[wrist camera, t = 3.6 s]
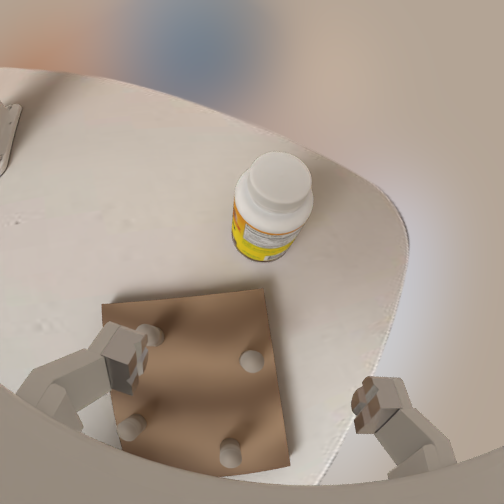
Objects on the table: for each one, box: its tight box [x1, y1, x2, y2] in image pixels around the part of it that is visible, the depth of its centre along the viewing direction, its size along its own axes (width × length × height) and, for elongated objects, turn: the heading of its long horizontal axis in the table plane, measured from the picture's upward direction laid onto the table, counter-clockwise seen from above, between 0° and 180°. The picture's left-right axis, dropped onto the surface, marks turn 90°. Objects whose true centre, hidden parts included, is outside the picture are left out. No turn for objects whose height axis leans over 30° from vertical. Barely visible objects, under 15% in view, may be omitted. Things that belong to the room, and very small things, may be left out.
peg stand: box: [102, 288, 290, 477], centre depth 19 cm, size 16×14×4 cm
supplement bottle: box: [232, 151, 314, 263], centre depth 22 cm, size 6×6×10 cm
